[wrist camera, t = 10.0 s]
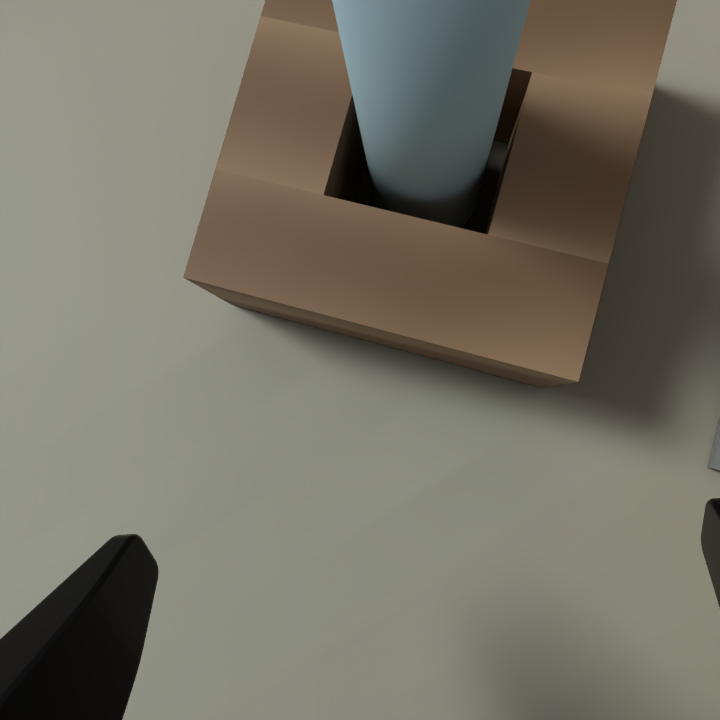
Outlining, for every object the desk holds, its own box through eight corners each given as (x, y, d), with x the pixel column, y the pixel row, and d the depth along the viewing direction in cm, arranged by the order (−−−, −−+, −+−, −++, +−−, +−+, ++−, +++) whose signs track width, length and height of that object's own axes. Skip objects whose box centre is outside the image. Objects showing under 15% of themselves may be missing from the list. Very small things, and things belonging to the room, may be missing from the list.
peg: (489, 227, 19) (606, -87, 7) (388, 253, 19) (334, -7, 7) (463, 131, 19) (533, -328, 7) (364, 158, 19) (275, -243, 8)
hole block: (543, 388, 18) (578, 381, 14) (231, 304, 19) (183, 277, 15) (626, 74, 19) (680, -16, 15) (317, 12, 20) (291, -88, 16)
